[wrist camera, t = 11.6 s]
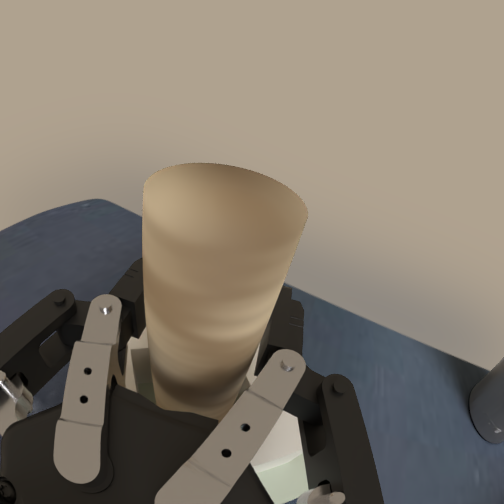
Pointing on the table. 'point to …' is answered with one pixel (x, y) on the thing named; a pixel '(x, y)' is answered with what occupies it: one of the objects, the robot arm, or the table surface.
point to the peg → (212, 277)
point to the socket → (271, 451)
